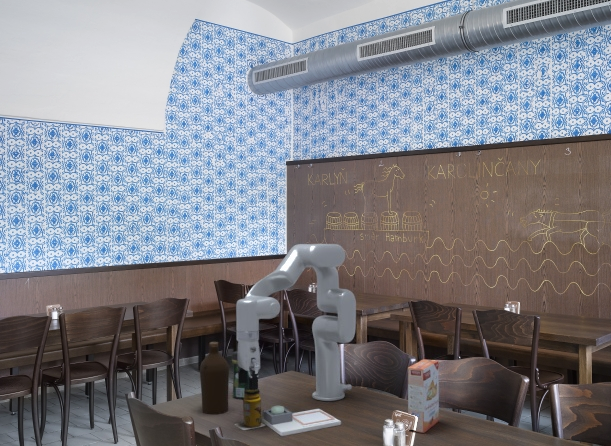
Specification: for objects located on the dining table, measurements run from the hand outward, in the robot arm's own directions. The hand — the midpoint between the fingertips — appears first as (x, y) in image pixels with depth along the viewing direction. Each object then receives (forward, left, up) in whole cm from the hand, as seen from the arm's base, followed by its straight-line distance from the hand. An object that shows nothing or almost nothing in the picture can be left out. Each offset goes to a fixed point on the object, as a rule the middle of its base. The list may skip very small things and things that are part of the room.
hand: (248, 386), depth 212 cm
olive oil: (+4, -22, -14) cm, 26 cm away
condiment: (-1, 0, -14) cm, 14 cm away
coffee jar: (-12, -34, -14) cm, 39 cm away
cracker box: (-51, +30, -14) cm, 61 cm away
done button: (-10, +3, -11) cm, 15 cm away
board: (-17, +7, -14) cm, 22 cm away
